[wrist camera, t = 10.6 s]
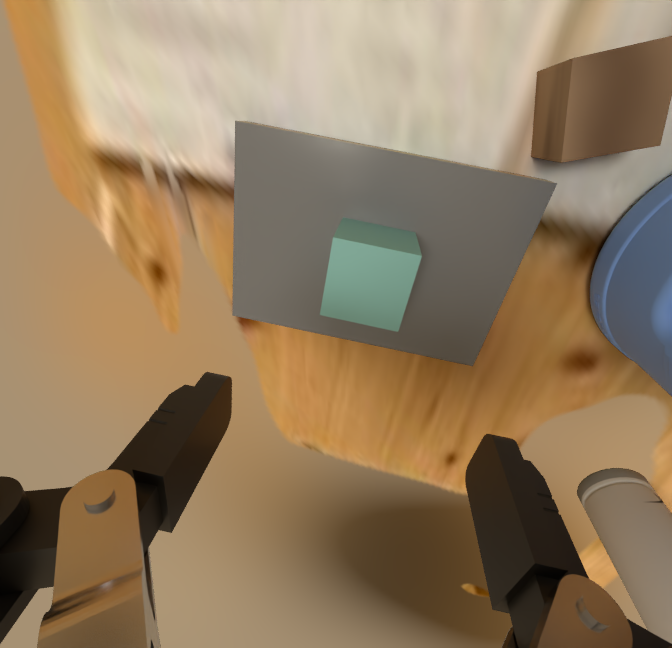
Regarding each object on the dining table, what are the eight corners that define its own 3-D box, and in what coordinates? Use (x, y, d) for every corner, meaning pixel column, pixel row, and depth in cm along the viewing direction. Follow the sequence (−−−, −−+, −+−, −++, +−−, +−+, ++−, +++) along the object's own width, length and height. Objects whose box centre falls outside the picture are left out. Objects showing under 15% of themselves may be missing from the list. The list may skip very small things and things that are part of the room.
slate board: (544, 179, 23) (557, 183, 21) (467, 352, 30) (472, 366, 28) (246, 121, 23) (235, 120, 21) (241, 304, 30) (232, 315, 28)
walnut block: (625, 52, 19) (686, 32, 15) (610, 142, 21) (660, 145, 17) (536, 71, 20) (572, 58, 16) (530, 156, 22) (561, 162, 18)
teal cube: (415, 232, 23) (421, 256, 19) (396, 297, 26) (398, 332, 21) (343, 217, 23) (333, 237, 19) (331, 283, 26) (319, 314, 22)
